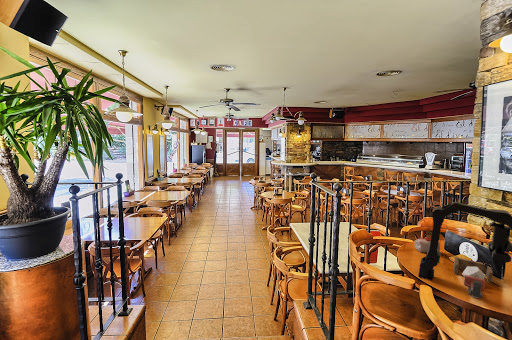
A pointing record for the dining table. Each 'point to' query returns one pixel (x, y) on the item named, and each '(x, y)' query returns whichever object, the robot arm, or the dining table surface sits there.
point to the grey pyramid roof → (473, 272)
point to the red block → (474, 285)
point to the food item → (424, 245)
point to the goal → (463, 265)
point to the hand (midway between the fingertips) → (496, 267)
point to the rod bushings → (470, 291)
